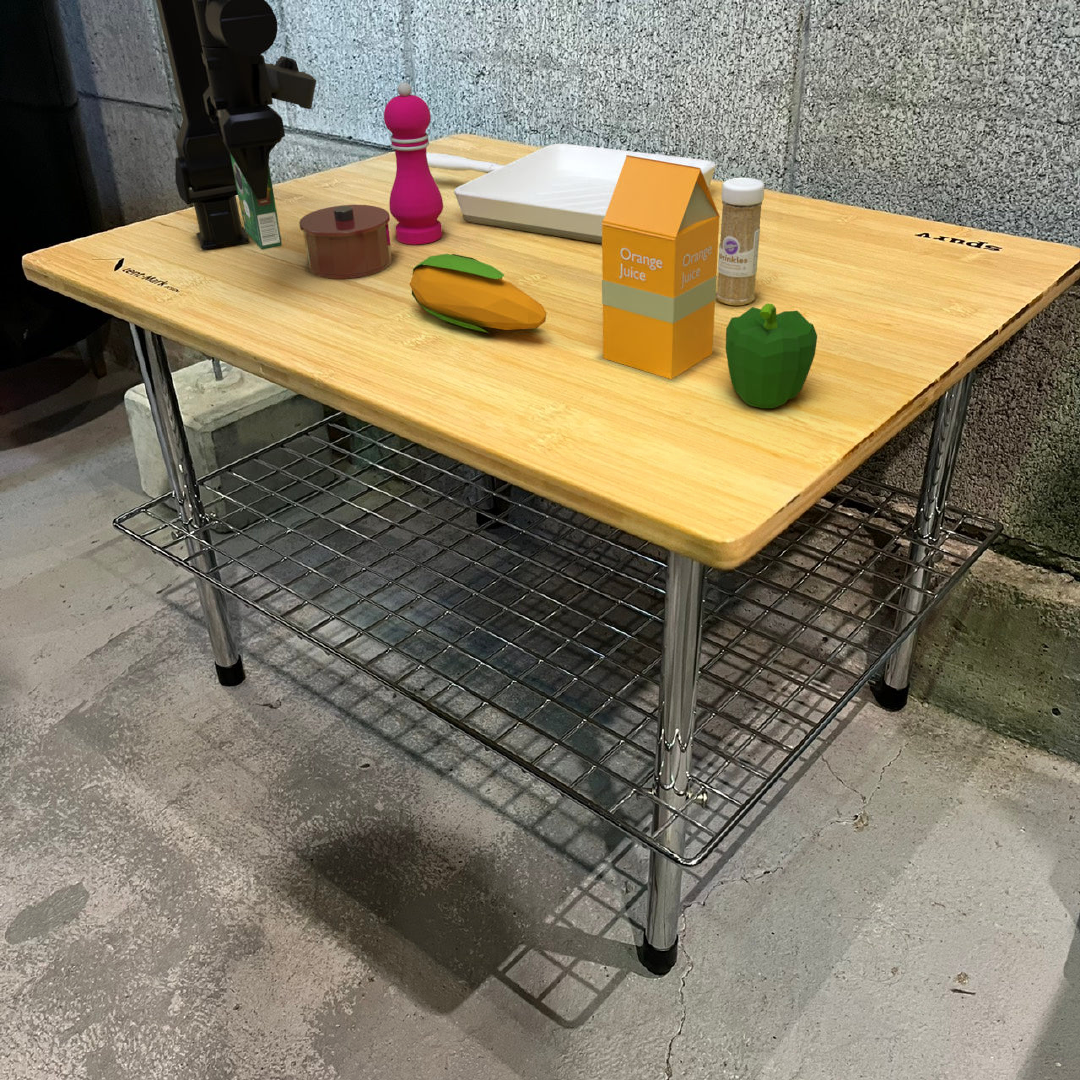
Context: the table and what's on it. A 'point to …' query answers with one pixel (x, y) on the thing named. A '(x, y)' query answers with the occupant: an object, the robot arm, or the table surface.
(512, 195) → the pan
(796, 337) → the bell pepper
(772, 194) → the table surface
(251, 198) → the coffee box
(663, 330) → the orange juice
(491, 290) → the corn
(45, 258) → the table surface
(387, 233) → the pot
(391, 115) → the pepper mill
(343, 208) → the pot lid
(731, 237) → the sprinkles bottle
